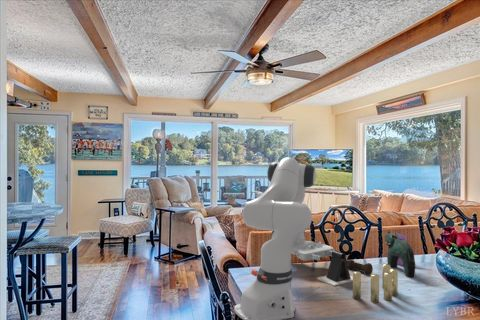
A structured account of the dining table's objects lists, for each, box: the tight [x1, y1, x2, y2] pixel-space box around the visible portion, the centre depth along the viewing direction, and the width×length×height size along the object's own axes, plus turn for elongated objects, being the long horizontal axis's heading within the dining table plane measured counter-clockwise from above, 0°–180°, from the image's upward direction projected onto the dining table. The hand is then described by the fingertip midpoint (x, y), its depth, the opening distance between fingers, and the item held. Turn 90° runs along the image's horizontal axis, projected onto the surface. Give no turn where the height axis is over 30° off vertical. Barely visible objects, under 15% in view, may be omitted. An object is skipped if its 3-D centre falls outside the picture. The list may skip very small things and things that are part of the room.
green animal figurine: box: [384, 229, 416, 278], centre depth 157 cm, size 20×6×20 cm, turn 4°
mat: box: [316, 274, 353, 287], centre depth 145 cm, size 16×10×1 cm, turn 122°
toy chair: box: [396, 233, 408, 266], centre depth 170 cm, size 8×9×15 cm
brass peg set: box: [352, 263, 399, 304], centre depth 127 cm, size 22×10×10 cm, turn 122°
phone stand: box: [326, 249, 351, 282], centre depth 145 cm, size 9×6×12 cm, turn 115°
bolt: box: [346, 259, 373, 276], centre depth 158 cm, size 6×5×15 cm
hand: (327, 257), depth 150 cm, fingers open, 8 cm apart
